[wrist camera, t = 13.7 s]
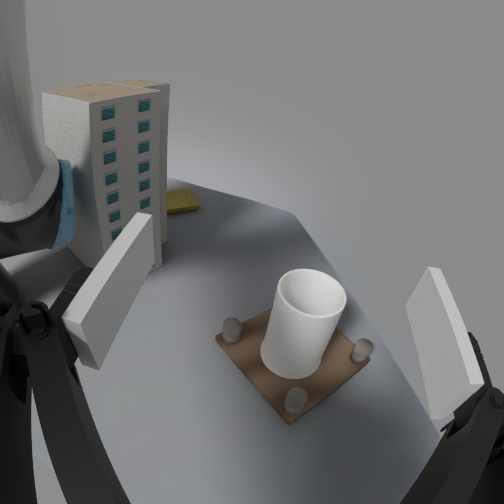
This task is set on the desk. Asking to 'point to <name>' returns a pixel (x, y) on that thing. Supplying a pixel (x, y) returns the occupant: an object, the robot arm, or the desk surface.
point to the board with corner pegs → (291, 390)
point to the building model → (111, 159)
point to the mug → (301, 322)
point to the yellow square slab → (181, 201)
